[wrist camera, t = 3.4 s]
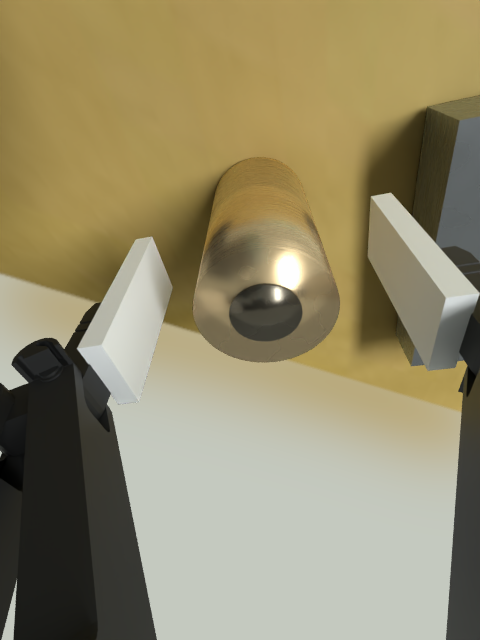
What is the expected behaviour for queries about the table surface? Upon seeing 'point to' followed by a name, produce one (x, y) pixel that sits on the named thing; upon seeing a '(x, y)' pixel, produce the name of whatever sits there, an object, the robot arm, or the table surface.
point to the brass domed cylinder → (263, 268)
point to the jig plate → (448, 186)
